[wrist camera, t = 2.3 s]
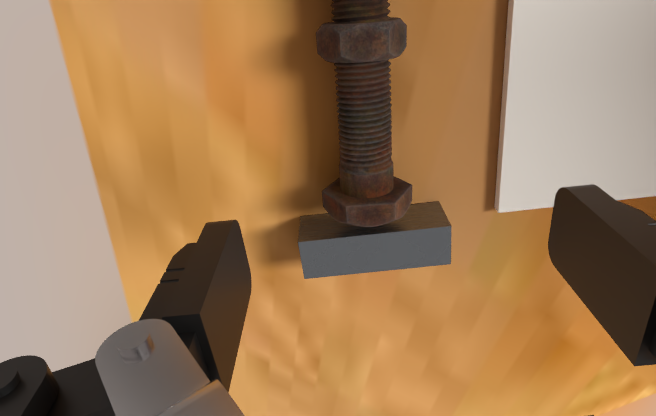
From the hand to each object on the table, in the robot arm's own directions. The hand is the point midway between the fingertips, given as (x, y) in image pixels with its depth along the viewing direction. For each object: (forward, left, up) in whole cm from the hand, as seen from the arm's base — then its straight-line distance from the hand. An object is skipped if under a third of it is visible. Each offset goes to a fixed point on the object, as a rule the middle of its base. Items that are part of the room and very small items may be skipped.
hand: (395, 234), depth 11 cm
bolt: (-1, 0, -19) cm, 19 cm away
